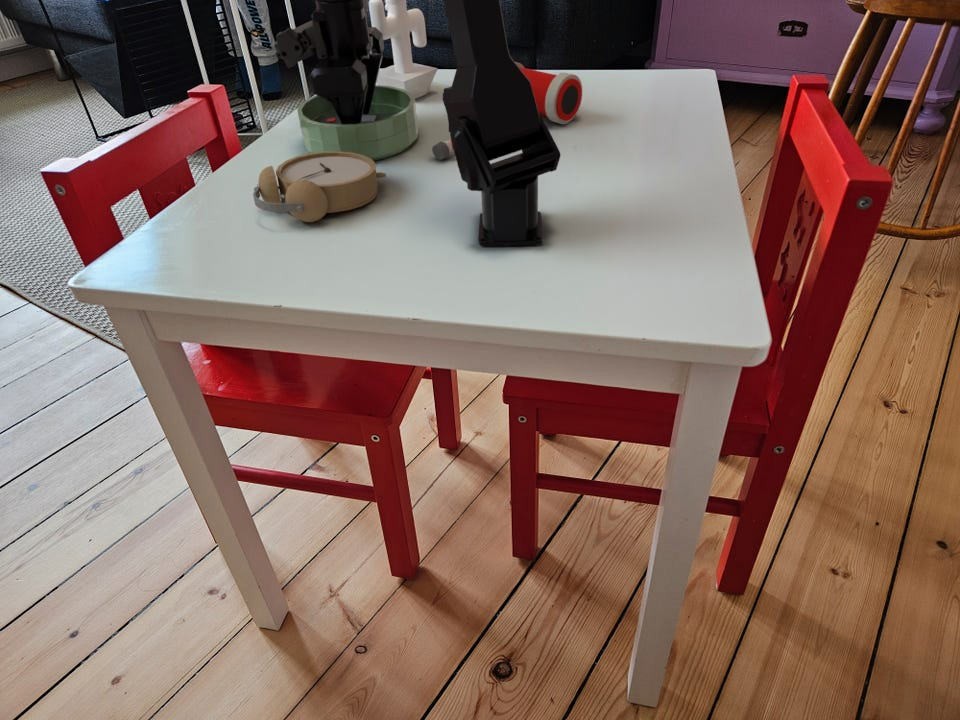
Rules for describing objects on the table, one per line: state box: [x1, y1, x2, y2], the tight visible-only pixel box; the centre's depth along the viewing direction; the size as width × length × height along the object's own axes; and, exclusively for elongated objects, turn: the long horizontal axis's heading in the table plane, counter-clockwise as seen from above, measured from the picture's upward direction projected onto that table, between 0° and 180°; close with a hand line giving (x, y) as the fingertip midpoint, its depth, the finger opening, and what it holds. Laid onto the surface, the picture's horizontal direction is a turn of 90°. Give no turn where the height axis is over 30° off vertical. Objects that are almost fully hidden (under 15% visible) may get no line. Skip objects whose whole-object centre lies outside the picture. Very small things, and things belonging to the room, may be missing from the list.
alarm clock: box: [252, 151, 387, 223], centre depth 80 cm, size 11×5×15 cm
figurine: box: [368, 0, 439, 100], centre depth 104 cm, size 7×9×15 cm
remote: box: [317, 113, 397, 125], centre depth 93 cm, size 11×4×3 cm, turn 88°
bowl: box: [296, 84, 420, 162], centre depth 93 cm, size 15×15×5 cm
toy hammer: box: [431, 61, 583, 161], centre depth 93 cm, size 23×12×6 cm, turn 137°
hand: (359, 126), depth 93 cm, fingers open, 9 cm apart
